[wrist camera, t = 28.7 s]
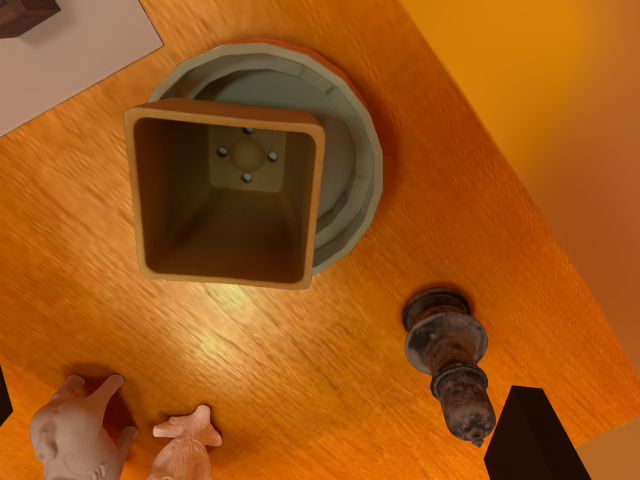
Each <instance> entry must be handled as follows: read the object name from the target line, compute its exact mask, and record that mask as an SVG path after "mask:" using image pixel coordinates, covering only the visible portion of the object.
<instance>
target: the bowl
mask: <svg viewBox="0 0 640 480" xmlns="http://www.w3.org/2000/svg"><path fill="white" fill-rule="evenodd" d="M168 98H187V99H195V100H204V101H212V102H221V103H231V104H241V105H251V106H262V107H273V108H285V109H297V110H304V111H307V112H309V113H311V114H312V115H313V116H314V117H315V118H316V119H317V120H318V122H319V123H320V125H321V126H322V127H323V129H324V130H325V133H326V146H325V155H324V162H323V172H322V180H321V188H320V199H319V208H318V217H317V226H316V234H315V245H314V255H313V265H312V275H313V274H317V273H320V272H322V271H324V270H325V269H326V268H328V267H329V266H331V265H332V264H334V263H335V262H337V261H338V260H340V259H341V258H342V257H344V256H345V255H347V254H348V253H349V252H350V251H351V250H352V249H353V248H354V246H355V245H356V244H357V242H358V241H359V240H360V238H361V237H362V236H363V235H364V233H365V232H366V231H367V229H368V228H369V227H370V225H371V223H372V221H373V218H374V215H375V212H376V209H377V206H378V203H379V201H380V198H381V195H382V191H383V151H382V148H381V145H380V142H379V139H378V136H377V133H376V130H375V127H374V124H373V121H372V118H371V115H370V112H369V109H368V107H367V104H366V101H365V99H364V98H363V96H362V95H361V94H360V92H359V91H358V90H357V88H356V87H355V86H354V84H353V83H352V82H351V80H350V79H349V78H348V76H347V75H346V74H345V72H344V71H342V69H340V68H339V67H337V66H336V65H335V64H333V63H332V62H330V61H329V60H327V59H326V58H324V57H323V56H322V55H320V54H319V53H317V52H316V51H314V50H313V49H311V48H308V47H305V46H301V45H298V44H294V43H291V42H287V41H284V40H280V39H277V38H275V39H274V38H264V39H247V40H237V41H233V42H230V43H226V44H223V45H219V46H217V47H215V48H213V49H210V50H208V51H206V52H203V53H201V54H199V55H197V56H194V57H192V58H190V59H187V60H185V61H183V62H182V63H180V64H179V65H178V66H177V67H176V68H175V69H174V70H173V71H172V72H171V73H170V74H169V75H168V76H167V77H166V78H165V79H164V80H163V81H162V82H161V83H160V84H159V85H158V86H157V87H156V88H155V89H154V90H153V91H152V93H151V95H150V97H149V100H148V102H147V103H150V102H154V101H159V100H163V99H168ZM252 130H253V129H252V128H245V127H244V131H245V133H247V134H250V133H251V132H252ZM226 153H227V152H226V150H225V149H224V148H219V149H218V154H219V155H220V156H225V155H226ZM268 158H269V159H270V160H272V161H274V160H276V158H277V155H276V153H274V152H271V153H269V154H268ZM242 178H243V180H244V181H246V182H248V181H250V179H251V176H250V175H249V174H244V175H243V177H242Z"/></svg>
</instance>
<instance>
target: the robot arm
mask: <svg viewBox="0 0 640 480" xmlns="http://www.w3.org/2000/svg"><path fill="white" fill-rule="evenodd" d="M12 412H13V409H12V405H11V401H10V398H9V394H8V391H7V387H6V384H5V380H4V377H3V373H2V370H1V366H0V427H1V425H2V424H3V423H4V422H5V420H6V419H7V418H8V417H9V416H10V414H11V413H12ZM484 462H485V465H486V468H487V471H488V474H489V477H490V480H591V478H590V476H589V474H588V472H587V471H586V469H585V467H584V465H583V463H582V461H581V459H580V458H579V456H578V454H577V452H576V450H575V448H574V447H573V445H572V443H571V441H570V439H569V437H568V435H567V434H566V432H565V430H564V428H563V426H562V424H561V423H560V421H559V419H558V417H557V415H556V413H555V411H554V410H553V408H552V406H551V404H550V402H549V400H548V398H547V397H546V395H545V393H544V391H543V389H542V388H532V387H523V386H513V385H512V387H511V389H510V392H509V394H508V397H507V400H506V402H505V405H504V407H503V410H502V413H501V415H500V418H499V420H498V423H497V426H496V428H495V431H494V433H493V436H492V439H491V441H490V444H489V446H488V449H487V452H486V454H485V457H484Z"/></svg>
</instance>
